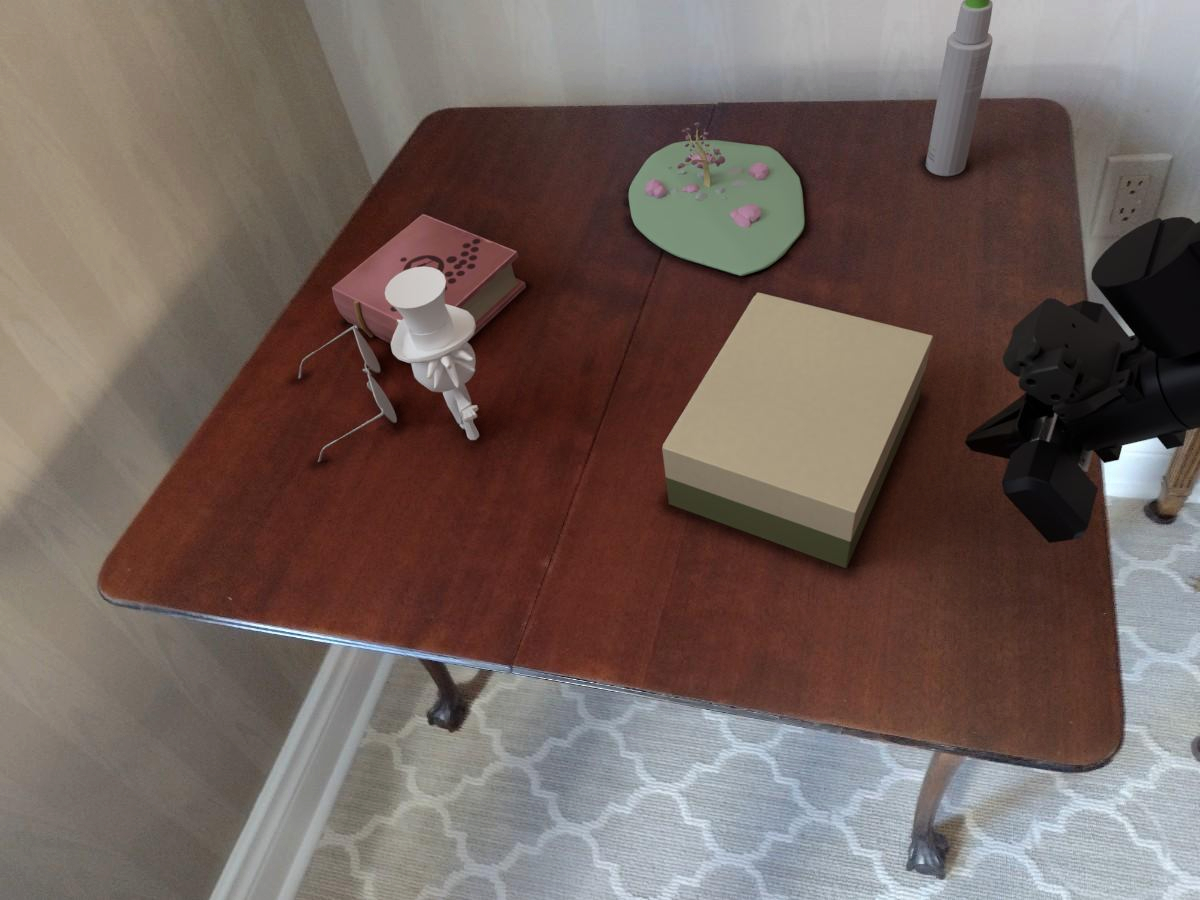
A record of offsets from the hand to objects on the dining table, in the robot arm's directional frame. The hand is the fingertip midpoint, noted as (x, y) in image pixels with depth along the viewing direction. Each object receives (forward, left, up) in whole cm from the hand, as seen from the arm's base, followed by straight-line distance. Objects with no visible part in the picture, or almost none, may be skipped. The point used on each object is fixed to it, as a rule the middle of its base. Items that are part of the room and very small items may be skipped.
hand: (968, 443), depth 69 cm
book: (+42, -40, -8) cm, 58 cm away
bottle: (-19, -44, -8) cm, 48 cm away
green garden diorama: (+7, -46, -8) cm, 47 cm away
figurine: (+40, -21, -8) cm, 45 cm away
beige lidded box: (+10, -9, -7) cm, 16 cm away
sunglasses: (+52, -28, -8) cm, 59 cm away
